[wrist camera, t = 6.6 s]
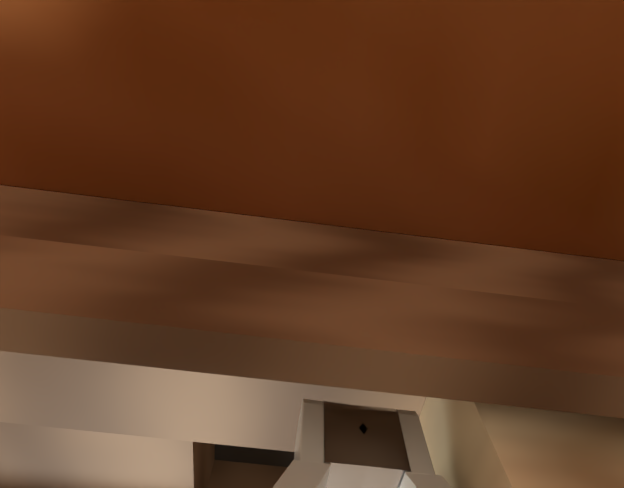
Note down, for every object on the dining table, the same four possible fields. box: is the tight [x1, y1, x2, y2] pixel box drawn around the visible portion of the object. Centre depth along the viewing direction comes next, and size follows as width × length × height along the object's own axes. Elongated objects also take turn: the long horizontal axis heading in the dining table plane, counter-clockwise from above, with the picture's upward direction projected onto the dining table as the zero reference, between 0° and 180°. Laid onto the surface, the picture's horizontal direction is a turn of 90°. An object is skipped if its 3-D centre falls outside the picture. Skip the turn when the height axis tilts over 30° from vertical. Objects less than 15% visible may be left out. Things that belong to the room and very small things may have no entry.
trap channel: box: [0, 185, 624, 488], centre depth 12 cm, size 35×12×6 cm, turn 83°
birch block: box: [419, 397, 624, 488], centre depth 9 cm, size 5×4×4 cm
